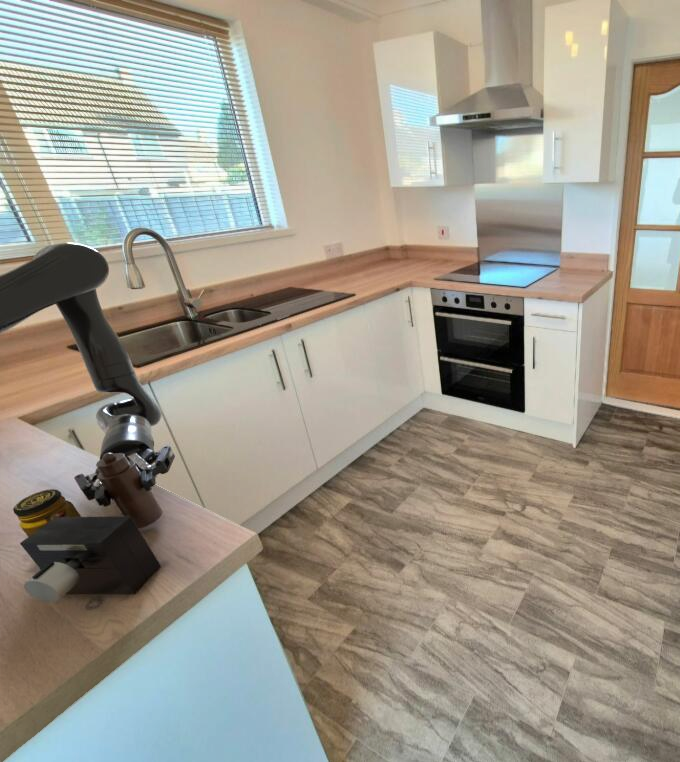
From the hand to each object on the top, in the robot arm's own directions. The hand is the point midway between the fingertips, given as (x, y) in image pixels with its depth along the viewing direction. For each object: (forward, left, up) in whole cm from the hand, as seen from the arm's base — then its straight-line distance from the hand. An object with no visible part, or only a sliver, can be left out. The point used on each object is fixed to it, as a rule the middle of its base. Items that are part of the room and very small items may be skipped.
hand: (126, 493), depth 70 cm
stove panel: (0, -9, -9) cm, 13 cm away
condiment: (-10, -1, -10) cm, 14 cm away
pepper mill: (-1, +2, -7) cm, 8 cm away
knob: (-1, -14, -5) cm, 15 cm away
